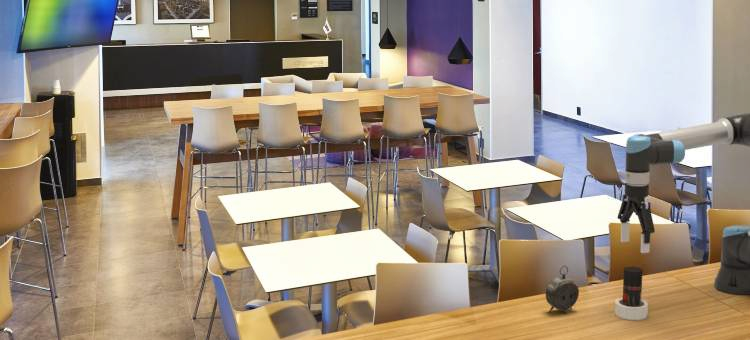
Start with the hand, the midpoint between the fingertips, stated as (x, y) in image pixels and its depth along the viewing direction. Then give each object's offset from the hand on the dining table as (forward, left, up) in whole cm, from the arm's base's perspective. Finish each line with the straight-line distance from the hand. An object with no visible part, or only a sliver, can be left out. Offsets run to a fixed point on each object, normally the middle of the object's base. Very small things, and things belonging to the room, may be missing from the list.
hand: (634, 247), depth 289 cm
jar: (0, 0, -23) cm, 23 cm away
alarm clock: (+21, -8, -24) cm, 33 cm away
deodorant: (0, 0, -23) cm, 23 cm away
